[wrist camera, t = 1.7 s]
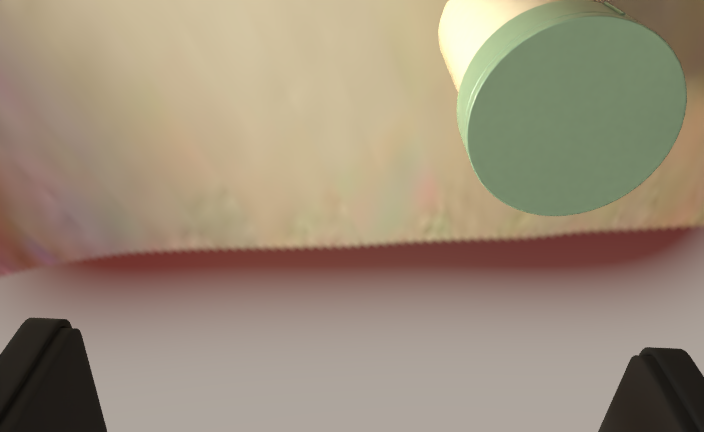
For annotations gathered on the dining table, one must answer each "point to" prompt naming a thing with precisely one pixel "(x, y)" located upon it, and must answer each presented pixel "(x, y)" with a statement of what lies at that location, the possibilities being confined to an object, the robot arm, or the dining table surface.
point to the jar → (474, 28)
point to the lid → (570, 107)
